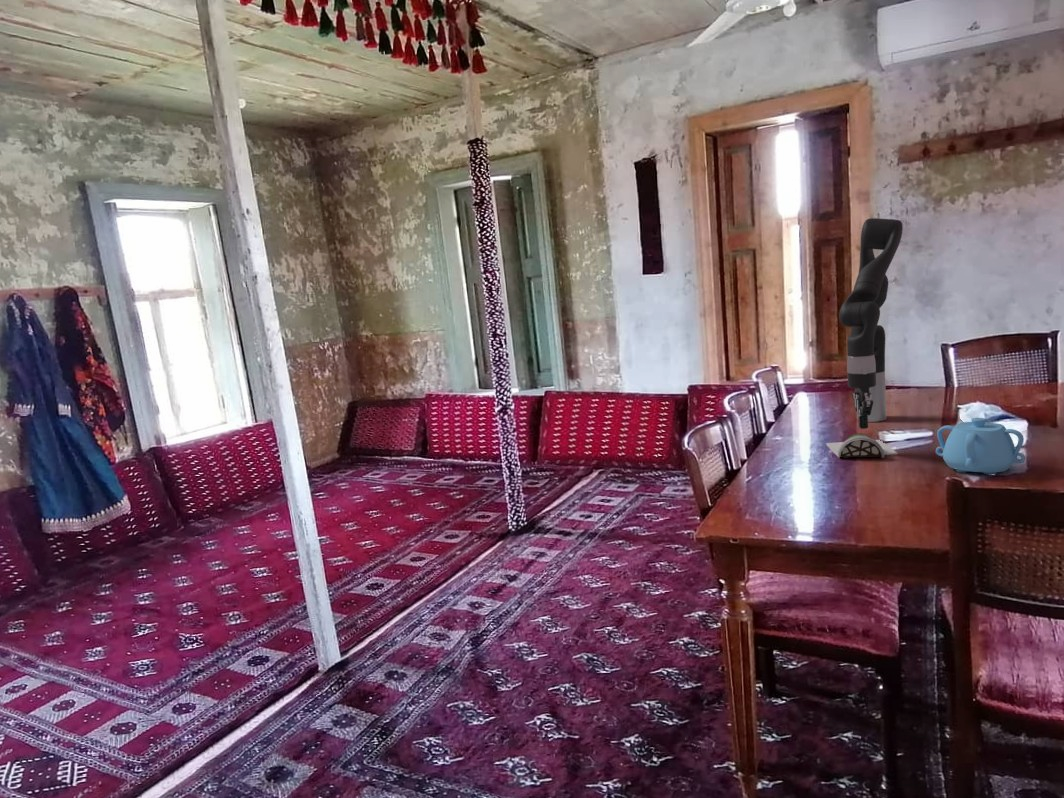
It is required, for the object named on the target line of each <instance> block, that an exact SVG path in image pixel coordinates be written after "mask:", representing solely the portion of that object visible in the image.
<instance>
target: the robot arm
mask: <svg viewBox="0 0 1064 798" xmlns="http://www.w3.org/2000/svg"><path fill="white" fill-rule="evenodd" d="M903 228H904V227H903V222H902V221H901V220H900V219H893V218H892V219H891V218H875V217H874V218H873V217H871V218H867V219H866V220H865V221H864V222H863V225H862V226H861V232H860V243H859V244H860V247H859V248H860V252H859V269H858V274H857V277H856V280H855V284H854V287H853V290H852V291H851V292H850V294H849V295H848V297H847V298H845V300H844V302H843V303H842V305H841V307H840V310H839V313H838V319H839V322H840V324H841V325H842V326H844V327H847V328H851V329H850V335H849V336H848V337H847V340H846V342H847V343H846V346H847V347H846V348H847V350H846V351H847V362H846V370H847V371H846V374H847V386H848V388H851V389H854V392H853V394H852V395H851V396H852V400H853V406H854V409H855V410H854V411H855V413H856V416H857V418H856V419H857V421H858V428H859V429H861V430H865V429H868V428H869V423H871V422H873V423H875V422H883V421H885V420H887V394H886V390H887V389H886V331H885V329H884V327H883V326H882V325H880V324H879V325H878V323H879V320H880V317H881V309H880V308H882V307H883V305H884V304H885V301H886V300H887V296H888V290H889V278H888V276H887V274H886V273H887V271H888V270H889V267H890V265H891V263H892V261H893V260H894V257H895V254H896V252H897V250H898V248H899V246H900V243H901V241H902V235H903V231H904V230H903ZM874 250H879V251H881V250H882V251H881V253H880V254H879V255H878V256H875V253H874Z"/></svg>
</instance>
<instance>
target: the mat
mask: <svg viewBox="0 0 1064 798" xmlns="http://www.w3.org/2000/svg"><path fill="white" fill-rule="evenodd" d="M874 440H875V441H876V442H878V443H879V444H880V446H881V447H882V449H883V451H884V456H890V455H891V456H892V455H895V456H896V455H898V452H897V451H896V450H894V449H893V448H892V447H890V446H889V445H888V444H886V443H885V442H884V441H883V440H881V439H874ZM880 440H881V441H880ZM883 442H884V443H883ZM843 443H844V441H841V442H840V441H839V442H825V446H827V448H829V449H830V450H831V451H832V452H833V453H834V455H836V456H837V457H838V451H839V448H840V446H841V445H842V444H843Z"/></svg>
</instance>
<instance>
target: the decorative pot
mask: <svg viewBox="0 0 1064 798" xmlns="http://www.w3.org/2000/svg"><path fill="white" fill-rule="evenodd" d="M944 430H949V431H951V432H950V433H949V435H948V437H947V439H946V441H945V440H944V437H943V431H944ZM1010 434H1012V435H1015V436H1016V437H1017V444H1016V447H1015V444H1014V441H1013V439H1012V437H1011V435H1010ZM936 436H937V440H938V443H939V444H940V446H938V447H936V449H935V454H936V455H937V456H939V457H942V458H943V460H944V462H945V464H946V465H947V467H949V468H951V469H955V472H957V473H967V472H974V473H983V474H984V475H985V474H990V475H989V476H992V475H991V474H996V475H997V473H1003V472H1005V471H1008V469H1010V467H1012V465H1013V464H1014V463H1015V464H1023V463H1024V462H1025V461H1026V455H1025V454H1024V453H1022V452H1020V451H1021V449H1022V447H1023V445H1024V440H1025V438H1024V435H1023V434H1022V433H1021V432H1020V430H1017V429H1013V428H1008V429H1007V428H1006V427H1005V425H1003V424H1002V423H996V422H990V421H987V419H986V418H984V417H973V418H971V419H970V421H964V422H959V423H957V424H956V425H950V424H949V425H948V424H947V425H943V426H941V427H940V428H939V429H938V430H937V432H936ZM940 450H942V452H941V451H940ZM1018 457H1020V458H1018Z"/></svg>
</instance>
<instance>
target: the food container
mask: <svg viewBox="0 0 1064 798" xmlns="http://www.w3.org/2000/svg"><path fill="white" fill-rule="evenodd" d="M875 440H876V439H874V438H872V437H871V436H870V435H868V434H867V433H860V432H858V433H853V434H851V435H849V436H848V437H847V438H845V440H844V441H843V442H844V443H843V444H842V445H841V446H840V448H839V451H838V456H837V458H839V459H841V458H840V457H844V458H882V459H883V458H884V459H885V455H884V451H883V449H882V447H881V446H880V444H879V443H878V442H876V441H875Z"/></svg>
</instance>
